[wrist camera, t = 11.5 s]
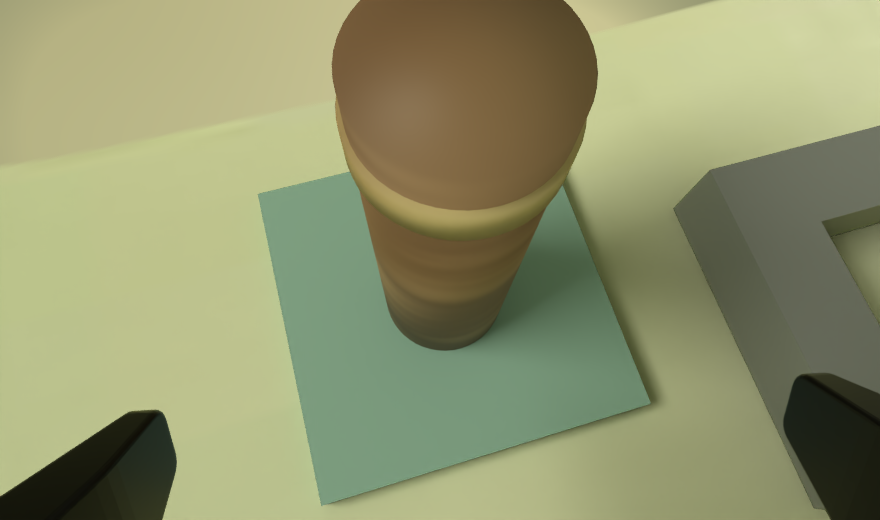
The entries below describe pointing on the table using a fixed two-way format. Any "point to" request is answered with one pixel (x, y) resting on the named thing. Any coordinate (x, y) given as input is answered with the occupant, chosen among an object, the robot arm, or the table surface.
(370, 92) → the walnut peg
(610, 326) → the green mat
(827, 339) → the socket block
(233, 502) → the table surface
